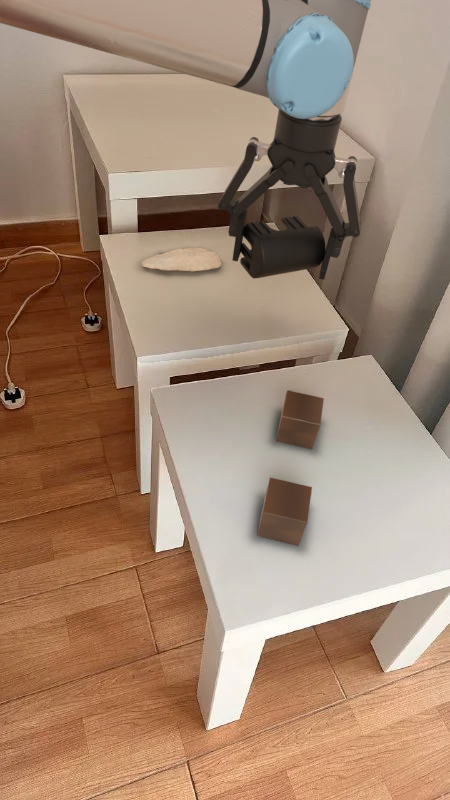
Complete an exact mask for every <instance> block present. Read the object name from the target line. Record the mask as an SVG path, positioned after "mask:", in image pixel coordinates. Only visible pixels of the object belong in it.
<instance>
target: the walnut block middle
mask: <svg viewBox="0 0 450 800" xmlns="http://www.w3.org/2000/svg"><path fill="white" fill-rule="evenodd" d="M324 400H325V398H324V397H320V396H316V395H312V394H308V393H302V392H298V391H293V390H289V389H288V390H286V393H285V397H284V402H283V406H282V409H281V413H280V417H279V423H278V428H277V433H276V439H275V441H276V442H279V443H283V444H287V445H291V446H292V445H293V446H295V447H299V448H305V449H310V450H313V449H314V446H315V442H316V440H317V436H318V434H319V430H320V427H321V423H322V415H323V408H324V402H325V401H324Z"/></svg>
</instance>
